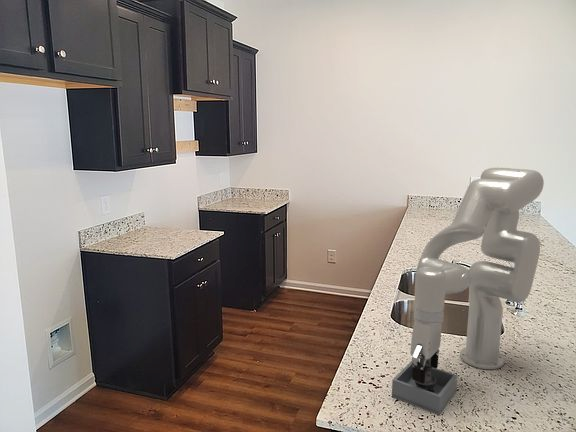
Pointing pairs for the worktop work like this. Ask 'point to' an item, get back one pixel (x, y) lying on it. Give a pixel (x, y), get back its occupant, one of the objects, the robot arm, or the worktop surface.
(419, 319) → the robot arm
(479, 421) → the worktop surface
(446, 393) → the bin
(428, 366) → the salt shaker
